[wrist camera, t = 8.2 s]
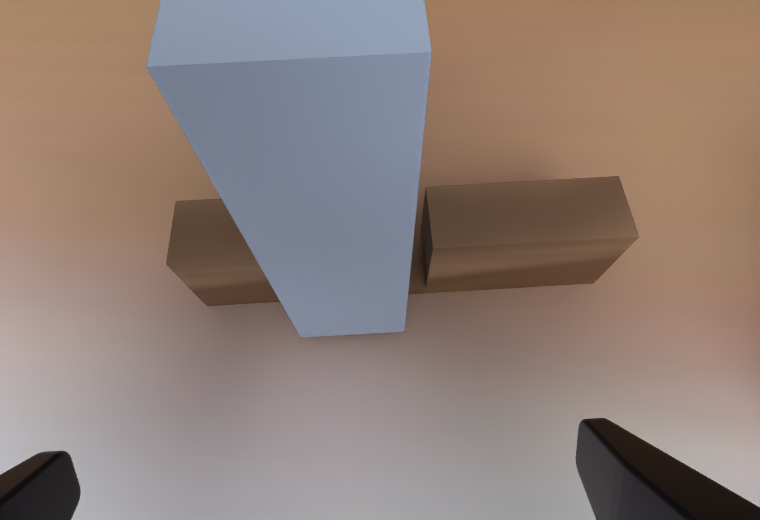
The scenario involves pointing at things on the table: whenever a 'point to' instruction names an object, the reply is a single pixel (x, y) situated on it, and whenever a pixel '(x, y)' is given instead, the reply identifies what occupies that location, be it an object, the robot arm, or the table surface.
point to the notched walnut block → (440, 240)
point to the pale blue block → (308, 142)
